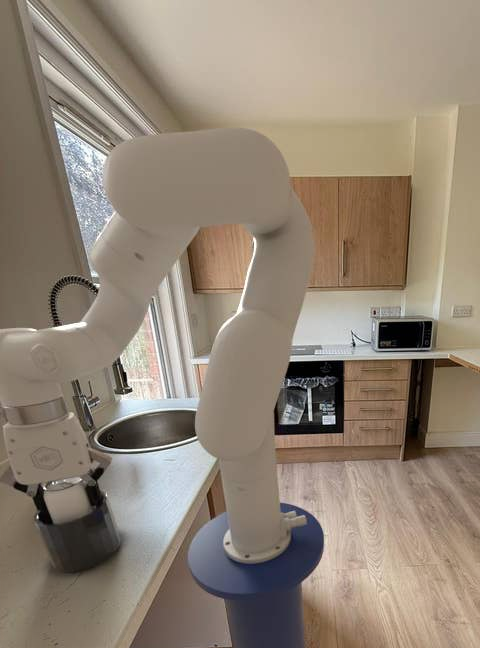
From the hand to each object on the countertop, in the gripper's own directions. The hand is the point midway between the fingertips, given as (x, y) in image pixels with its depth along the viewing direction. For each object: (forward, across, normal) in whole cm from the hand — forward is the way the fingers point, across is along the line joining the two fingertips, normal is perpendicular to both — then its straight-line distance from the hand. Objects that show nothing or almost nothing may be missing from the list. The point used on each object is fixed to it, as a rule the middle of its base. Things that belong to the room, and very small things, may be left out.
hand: (72, 506), depth 61 cm
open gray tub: (+10, 0, 0) cm, 10 cm away
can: (+7, 0, 0) cm, 7 cm away
